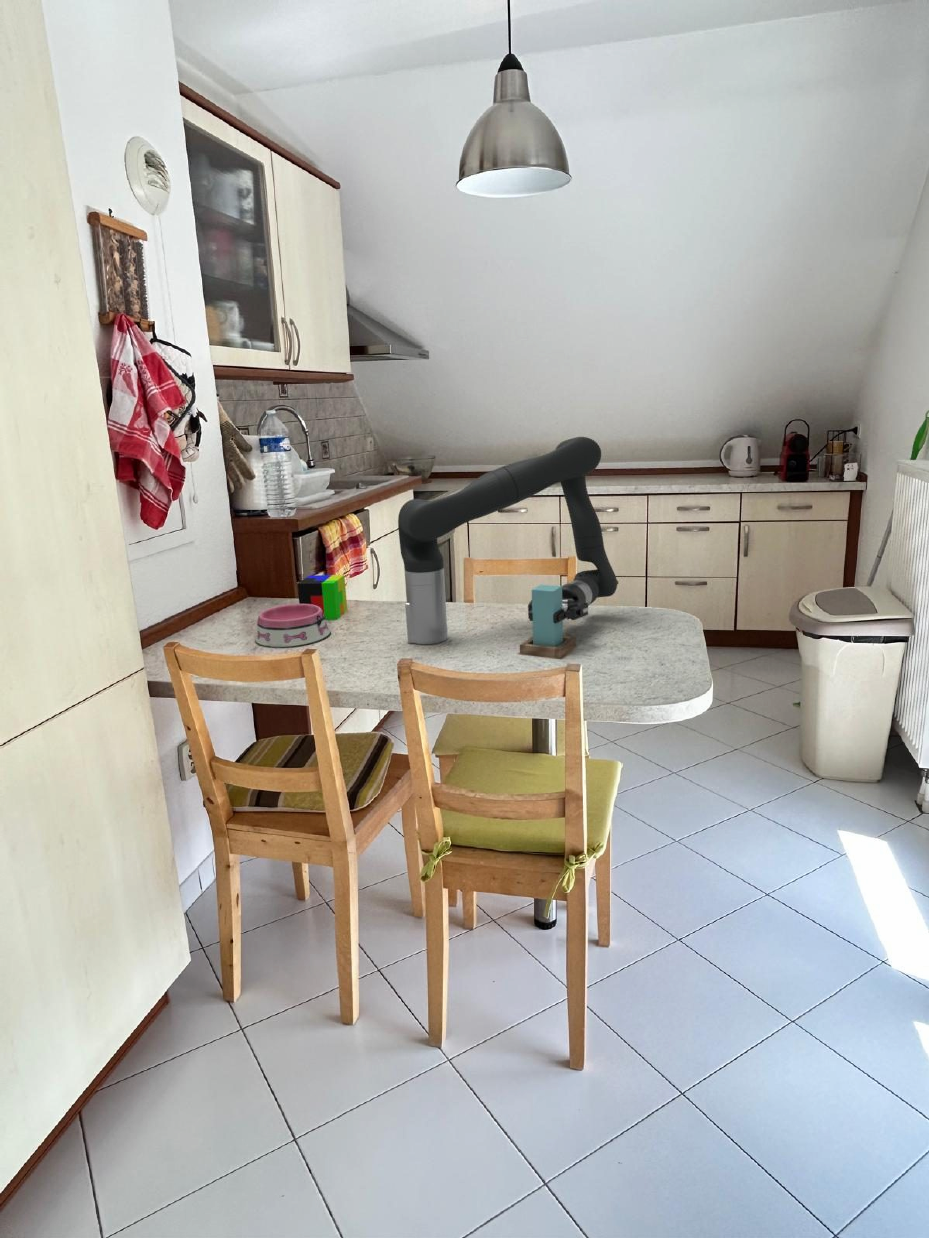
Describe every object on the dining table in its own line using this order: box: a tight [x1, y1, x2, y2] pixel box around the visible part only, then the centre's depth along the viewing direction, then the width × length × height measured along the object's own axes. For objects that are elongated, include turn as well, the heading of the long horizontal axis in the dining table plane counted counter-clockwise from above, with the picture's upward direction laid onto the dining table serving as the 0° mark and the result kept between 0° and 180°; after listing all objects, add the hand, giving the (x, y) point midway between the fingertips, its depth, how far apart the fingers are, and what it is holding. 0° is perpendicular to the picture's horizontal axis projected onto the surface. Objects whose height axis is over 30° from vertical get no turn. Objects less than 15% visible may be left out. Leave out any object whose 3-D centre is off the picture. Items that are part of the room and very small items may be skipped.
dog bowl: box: [254, 603, 332, 649], centre depth 205 cm, size 18×19×7 cm
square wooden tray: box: [517, 635, 579, 660], centre depth 182 cm, size 10×10×3 cm
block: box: [531, 584, 564, 647], centre depth 180 cm, size 5×5×14 cm
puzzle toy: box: [296, 574, 348, 621], centre depth 224 cm, size 10×10×10 cm
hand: (542, 617), depth 178 cm, fingers closed on block, 5 cm apart
